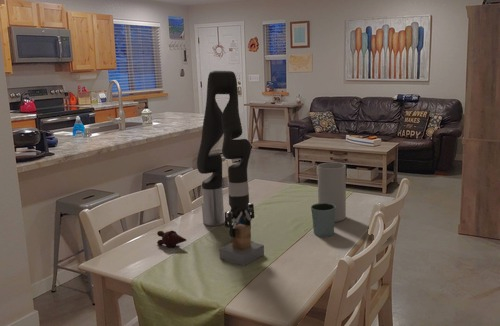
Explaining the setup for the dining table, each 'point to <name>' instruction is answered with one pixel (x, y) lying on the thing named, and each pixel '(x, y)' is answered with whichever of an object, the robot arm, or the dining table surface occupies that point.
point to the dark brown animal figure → (169, 238)
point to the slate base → (241, 253)
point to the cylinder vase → (333, 187)
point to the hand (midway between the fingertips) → (240, 233)
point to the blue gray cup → (323, 219)
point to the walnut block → (242, 237)
